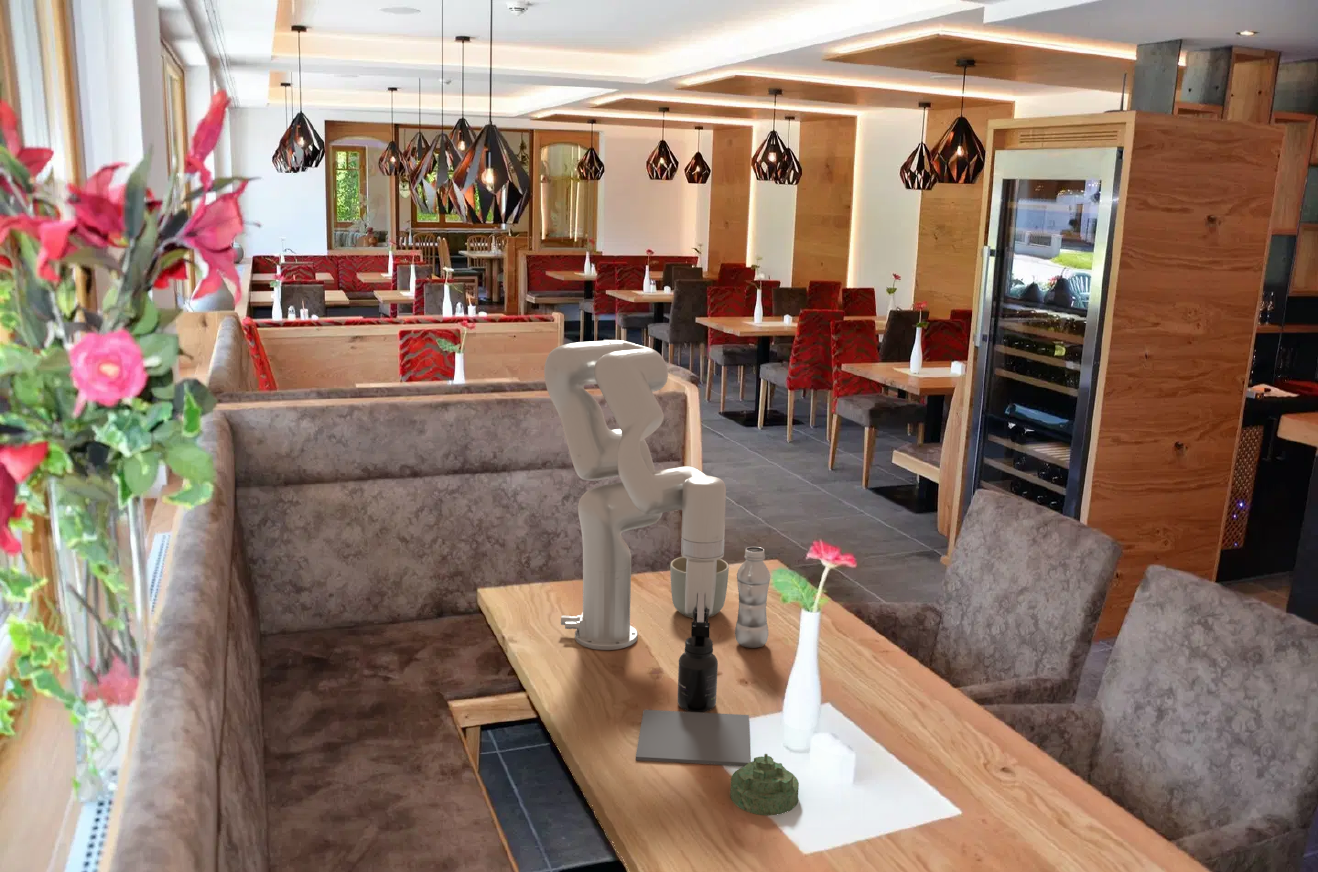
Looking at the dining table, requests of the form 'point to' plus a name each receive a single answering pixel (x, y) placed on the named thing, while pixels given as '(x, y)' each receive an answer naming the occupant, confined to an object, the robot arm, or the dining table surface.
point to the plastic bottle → (752, 599)
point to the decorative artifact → (764, 787)
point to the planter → (680, 579)
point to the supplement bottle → (697, 675)
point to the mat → (694, 738)
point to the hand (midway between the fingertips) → (700, 644)
